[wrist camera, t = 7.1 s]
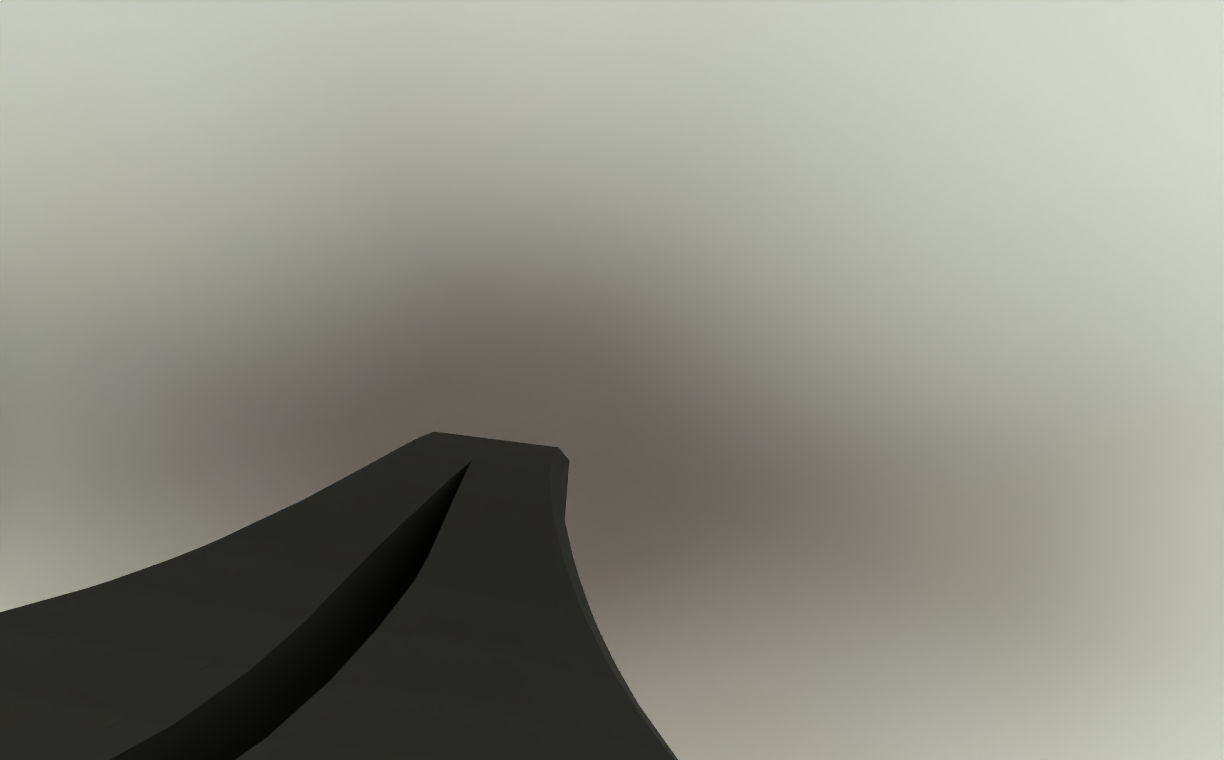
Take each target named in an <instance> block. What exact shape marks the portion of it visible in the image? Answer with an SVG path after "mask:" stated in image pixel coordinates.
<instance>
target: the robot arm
mask: <svg viewBox="0 0 1224 760" xmlns="http://www.w3.org/2000/svg"><path fill="white" fill-rule="evenodd" d="M568 468H569V460H568V459H567V457H566V456H565V455H564V454H563V452H562V451H561V450H560V449H559V448H558V447H550V446H542V445H534V444H526V443H518V442H510V441H503V440H495V439H487V438H479V437H471V436H463V435H455V434H447V433H439V432H432V433H430V434H427V435H425V436H422V437H420V438H418V439H416V440H414V441H412V442H410V443H408V444H406V445H404V446H402V447H400V448H399V449H397V450H395V451H393V452H391V453H389V454H388V455H386V456H384V457H382V458H380V459H378V460H377V461H375V462H373V463H371V464H369V465H367V466H366V467H364V468H362V469H360V470H358V471H356V472H355V473H353V474H351V475H349V476H347V477H345V478H343V479H341V480H340V481H338V482H336V483H334V484H332V485H330V486H328V487H327V488H325V489H323V490H321V491H319V492H317V493H315V494H313V495H312V496H310V497H308V498H306V499H304V500H302V501H300V502H298V503H296V504H293V505H291V506H289V507H287V508H285V509H283V510H281V511H279V512H277V513H274V514H272V515H270V516H268V517H266V518H264V519H262V520H260V521H257V522H255V523H253V524H251V525H249V526H247V527H245V528H243V529H240V530H238V531H236V532H234V533H232V534H230V535H228V536H226V537H224V538H221V539H219V540H217V541H214V542H212V543H210V544H207V545H205V546H203V547H200V548H198V549H195V550H193V551H190V552H188V553H185V554H183V555H180V556H178V557H175V558H173V559H170V560H168V561H165V562H162V563H159V564H156V565H153V566H151V567H148V568H145V569H142V570H139V571H137V572H134V573H131V574H128V575H125V576H123V577H120V578H117V579H114V580H111V581H108V582H105V583H102V584H99V585H96V586H93V587H90V588H86V589H83V590H79V591H76V592H72V593H68V594H65V595H61V596H58V597H54V598H50V599H47V600H43V601H40V602H36V603H32V604H29V605H25V606H22V607H18V608H14V609H11V610H7V611H4V612H0V760H678V759H677V758H676V756H675V755H674V754H673V752H672V751H671V749H670V748H669V747H668V745H667V744H666V742H665V741H664V739H663V738H662V737H661V735H660V734H659V732H658V731H657V730H656V728H655V727H654V725H653V724H652V723H651V721H650V720H649V718H648V717H647V716H646V714H645V713H644V711H643V710H642V709H641V707H640V706H639V704H638V703H637V701H636V699H635V698H634V696H633V694H632V692H631V691H630V689H629V687H628V685H627V684H626V682H625V680H624V678H623V677H622V675H621V673H620V671H619V670H618V668H617V666H616V664H615V662H614V660H613V658H612V656H611V654H610V652H609V650H608V648H607V646H606V644H605V642H604V640H603V638H602V636H601V634H600V631H599V629H598V627H597V625H596V622H595V620H594V617H593V615H592V612H591V610H590V607H589V605H588V602H587V599H586V596H585V594H584V591H583V588H582V585H581V582H580V579H579V576H578V573H577V570H576V566H575V563H574V559H573V556H572V551H571V547H570V542H569V538H568V533H567V529H566V525H565V508H566V495H567V482H568Z"/></svg>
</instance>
